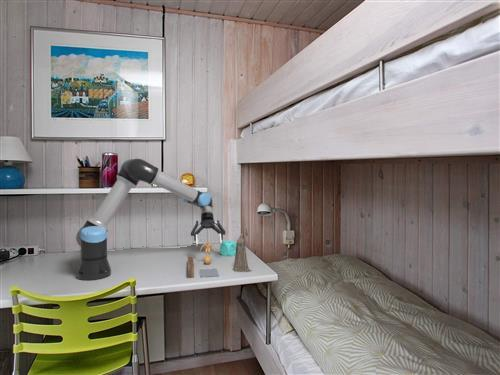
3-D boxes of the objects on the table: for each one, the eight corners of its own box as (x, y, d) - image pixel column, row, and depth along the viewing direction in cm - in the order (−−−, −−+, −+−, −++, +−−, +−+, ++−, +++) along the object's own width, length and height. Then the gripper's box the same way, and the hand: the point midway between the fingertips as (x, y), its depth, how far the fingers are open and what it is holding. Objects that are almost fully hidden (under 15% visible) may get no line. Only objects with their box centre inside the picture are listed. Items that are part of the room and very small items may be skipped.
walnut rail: (187, 278, 158) (187, 270, 158) (187, 262, 185) (187, 256, 185) (194, 277, 158) (194, 270, 158) (193, 262, 186) (193, 256, 186)
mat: (200, 277, 159) (200, 276, 159) (199, 270, 171) (199, 269, 171) (219, 276, 161) (219, 275, 161) (216, 269, 172) (216, 268, 172)
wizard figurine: (251, 267, 176) (251, 221, 175) (252, 272, 168) (252, 223, 167) (232, 267, 176) (232, 221, 175) (232, 272, 168) (232, 223, 166)
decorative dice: (237, 254, 204) (237, 241, 204) (228, 257, 198) (228, 243, 198) (228, 252, 209) (228, 240, 209) (219, 254, 203) (219, 242, 203)
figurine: (199, 265, 180) (199, 243, 180) (200, 262, 186) (200, 241, 186) (215, 264, 181) (215, 243, 180) (215, 261, 187) (215, 241, 186)
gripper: (226, 218, 207) (229, 247, 193) (186, 219, 202) (186, 249, 188) (227, 211, 202) (231, 240, 188) (186, 211, 197) (186, 241, 183)
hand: (208, 244), depth 188 cm, fingers open, 13 cm apart
